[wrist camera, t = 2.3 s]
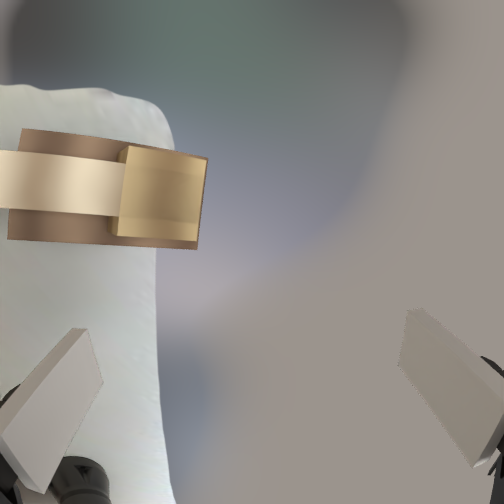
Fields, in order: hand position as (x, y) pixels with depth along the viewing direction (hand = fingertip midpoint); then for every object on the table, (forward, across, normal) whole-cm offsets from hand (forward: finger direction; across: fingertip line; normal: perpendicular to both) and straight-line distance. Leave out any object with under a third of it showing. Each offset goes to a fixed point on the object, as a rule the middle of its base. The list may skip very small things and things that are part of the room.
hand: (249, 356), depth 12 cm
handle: (+9, +14, -8) cm, 19 cm away
